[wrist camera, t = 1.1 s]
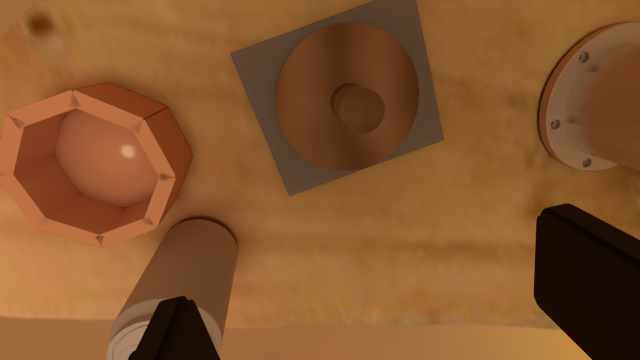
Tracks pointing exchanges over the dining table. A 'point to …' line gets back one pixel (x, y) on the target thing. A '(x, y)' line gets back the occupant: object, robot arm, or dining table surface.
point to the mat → (269, 56)
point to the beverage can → (180, 283)
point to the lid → (347, 96)
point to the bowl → (94, 163)
